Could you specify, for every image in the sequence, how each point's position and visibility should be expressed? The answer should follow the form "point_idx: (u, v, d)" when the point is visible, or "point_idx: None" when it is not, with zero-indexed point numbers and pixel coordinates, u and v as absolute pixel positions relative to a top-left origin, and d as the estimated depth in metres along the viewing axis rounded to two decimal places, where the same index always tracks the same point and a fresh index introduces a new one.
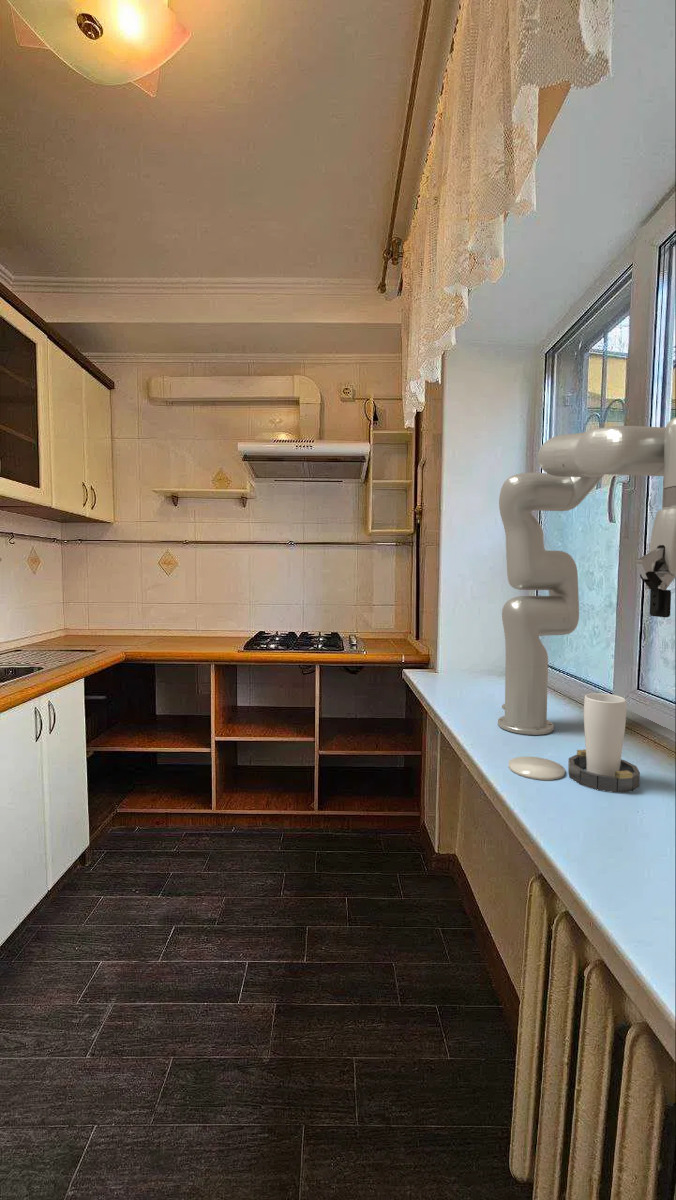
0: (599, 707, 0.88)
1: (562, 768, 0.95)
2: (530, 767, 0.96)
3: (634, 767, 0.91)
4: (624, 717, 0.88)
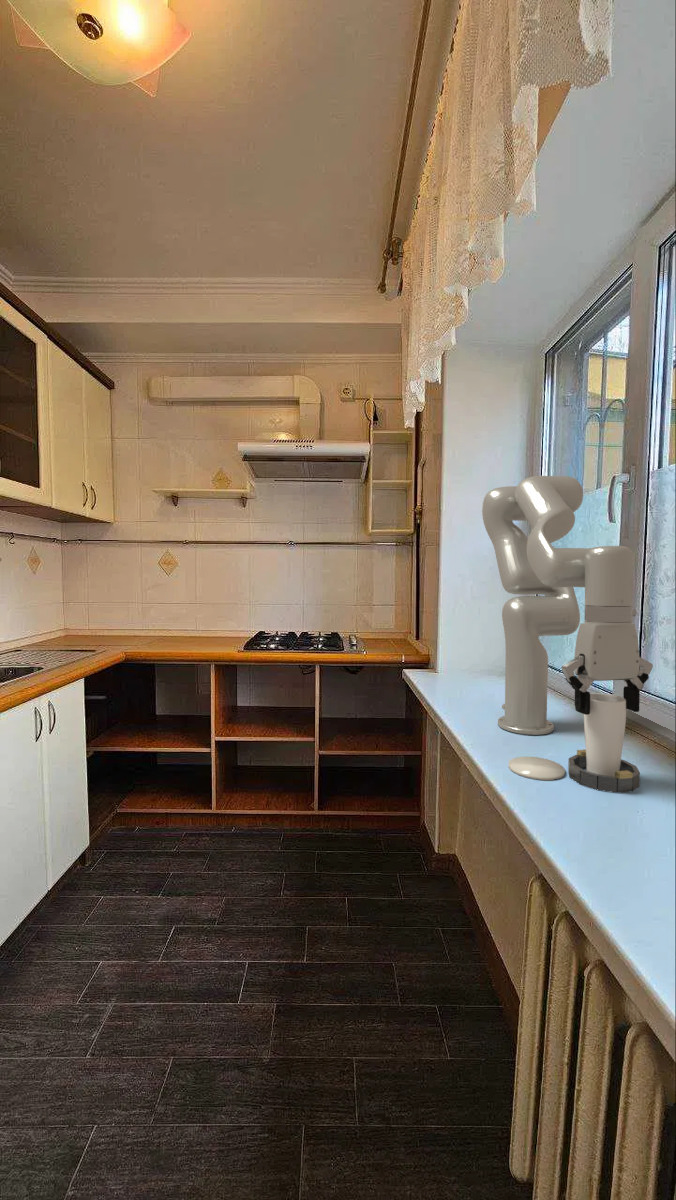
0: (599, 707, 0.88)
1: (562, 768, 0.95)
2: (530, 767, 0.96)
3: (634, 767, 0.91)
4: (624, 717, 0.88)
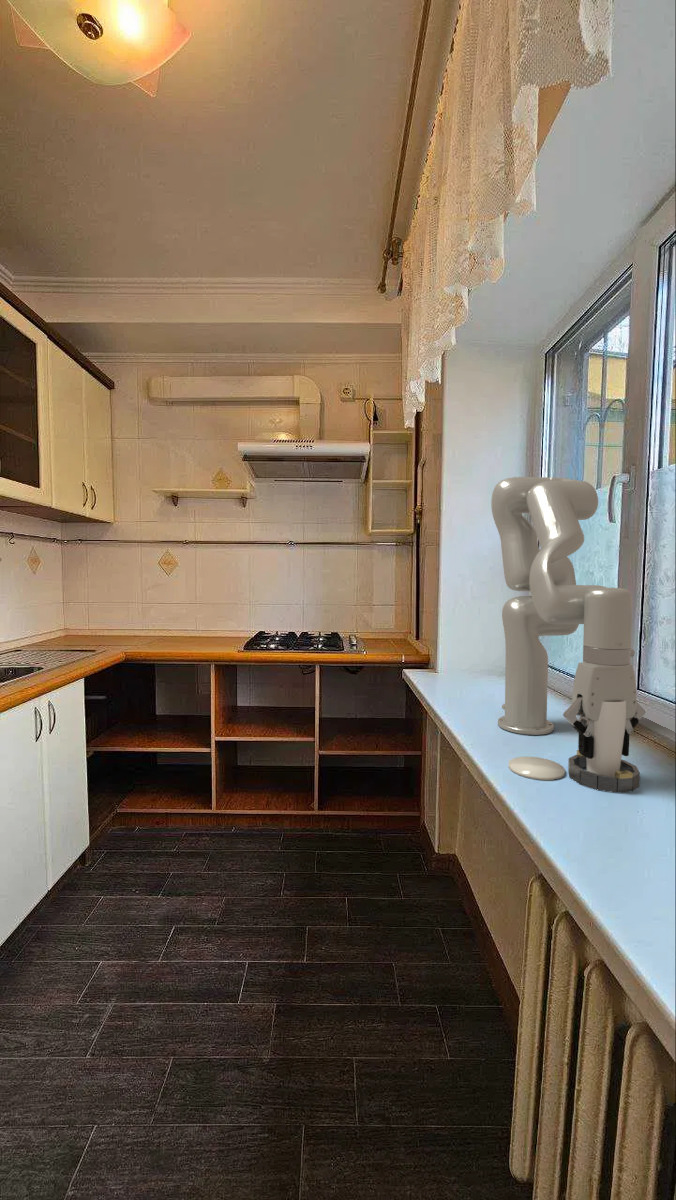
0: None
1: (562, 768, 0.95)
2: (530, 767, 0.96)
3: (634, 767, 0.91)
4: (624, 717, 0.88)
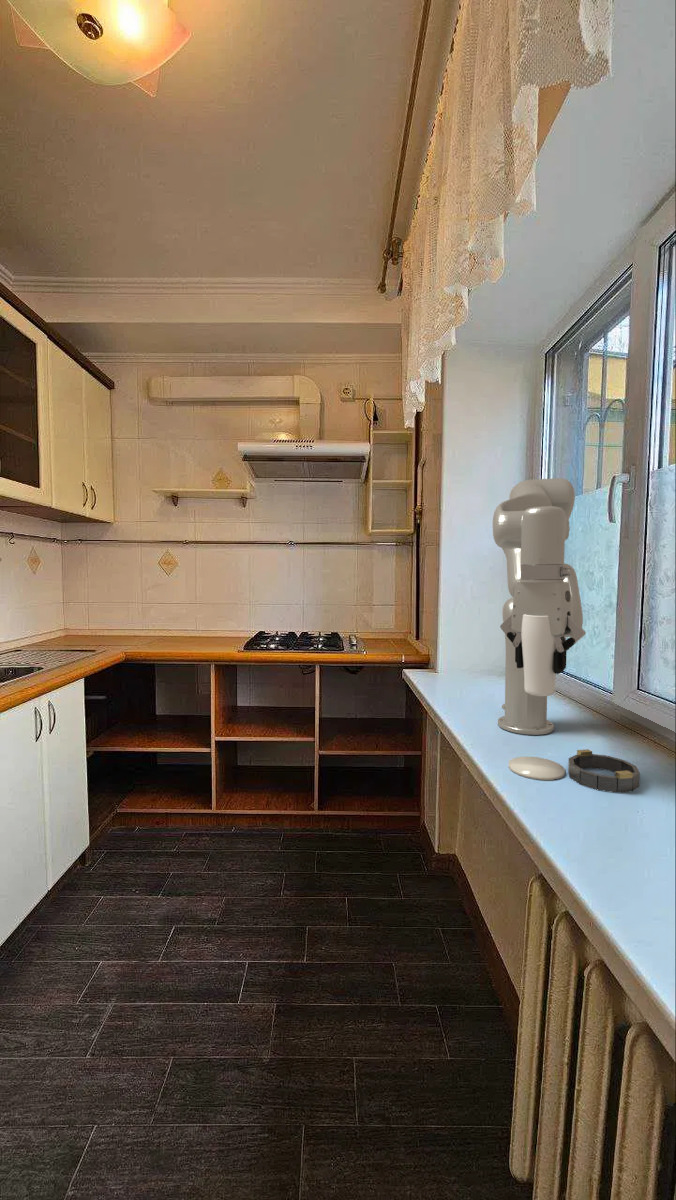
0: (522, 620, 0.95)
1: (562, 768, 0.95)
2: (530, 767, 0.96)
3: (634, 767, 0.91)
4: (542, 631, 0.91)
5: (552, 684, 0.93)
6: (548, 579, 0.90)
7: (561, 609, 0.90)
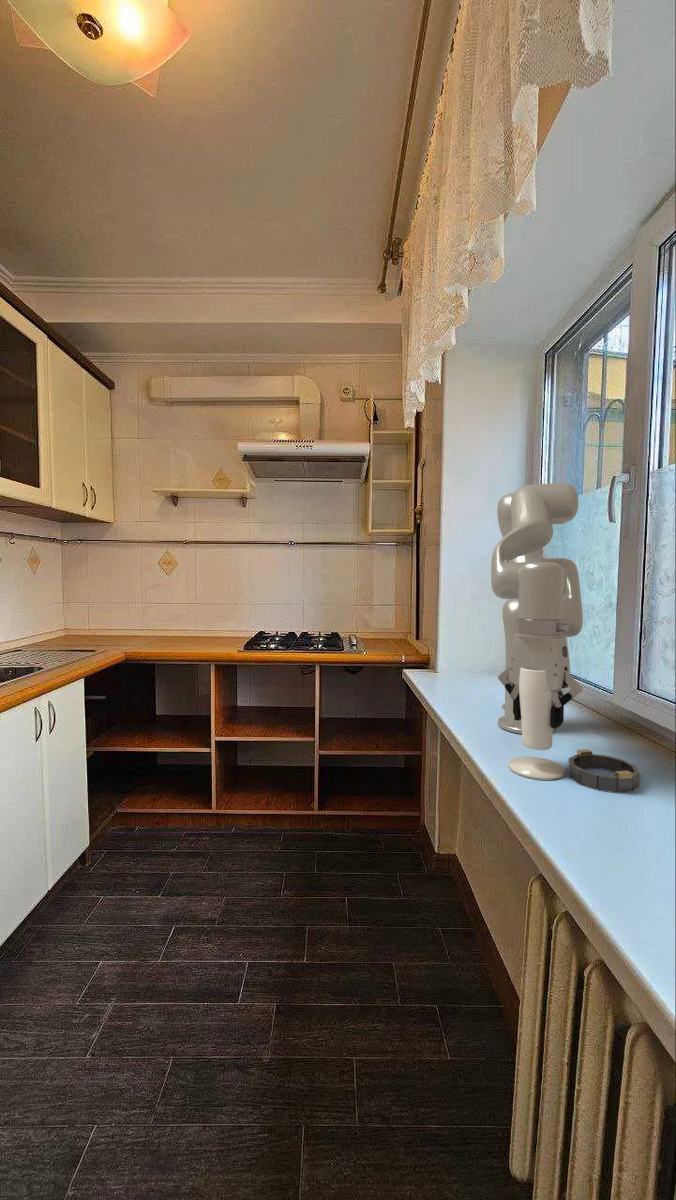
0: None
1: (562, 768, 0.95)
2: (530, 767, 0.96)
3: (634, 767, 0.91)
4: (539, 686, 0.92)
5: (549, 738, 0.93)
6: (545, 635, 0.91)
7: (558, 665, 0.90)
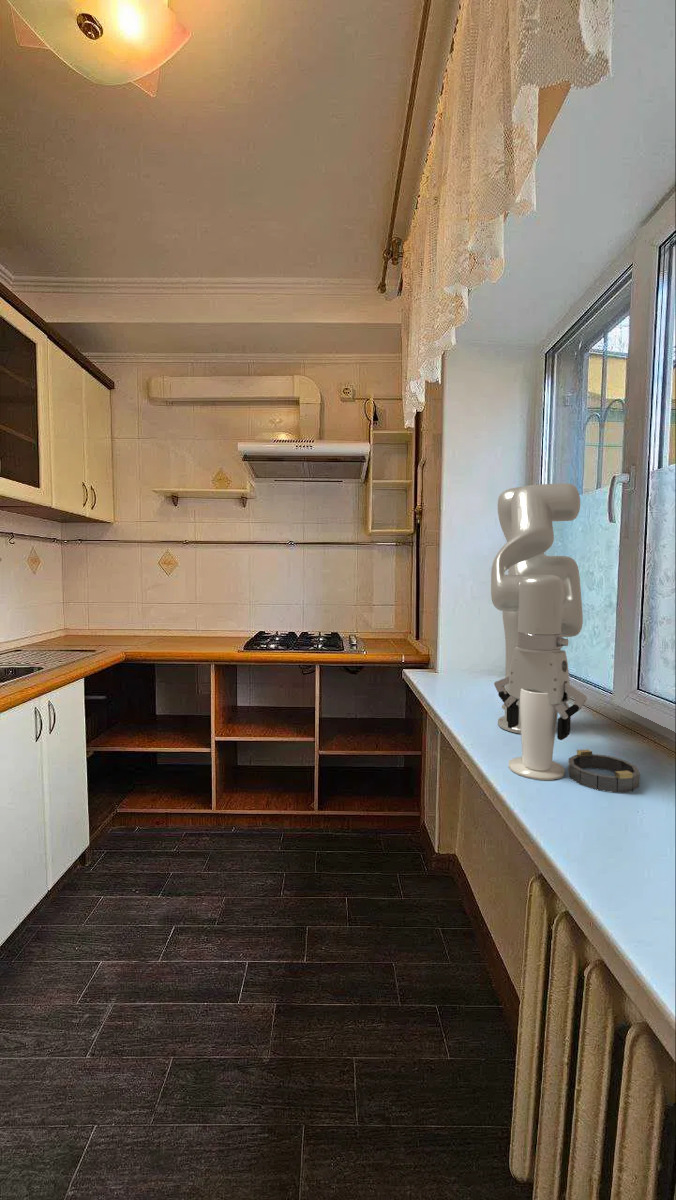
0: (520, 694, 0.95)
1: (562, 768, 0.95)
2: None
3: (634, 767, 0.91)
4: (540, 708, 0.92)
5: (550, 759, 0.94)
6: (545, 649, 0.91)
7: (558, 680, 0.90)
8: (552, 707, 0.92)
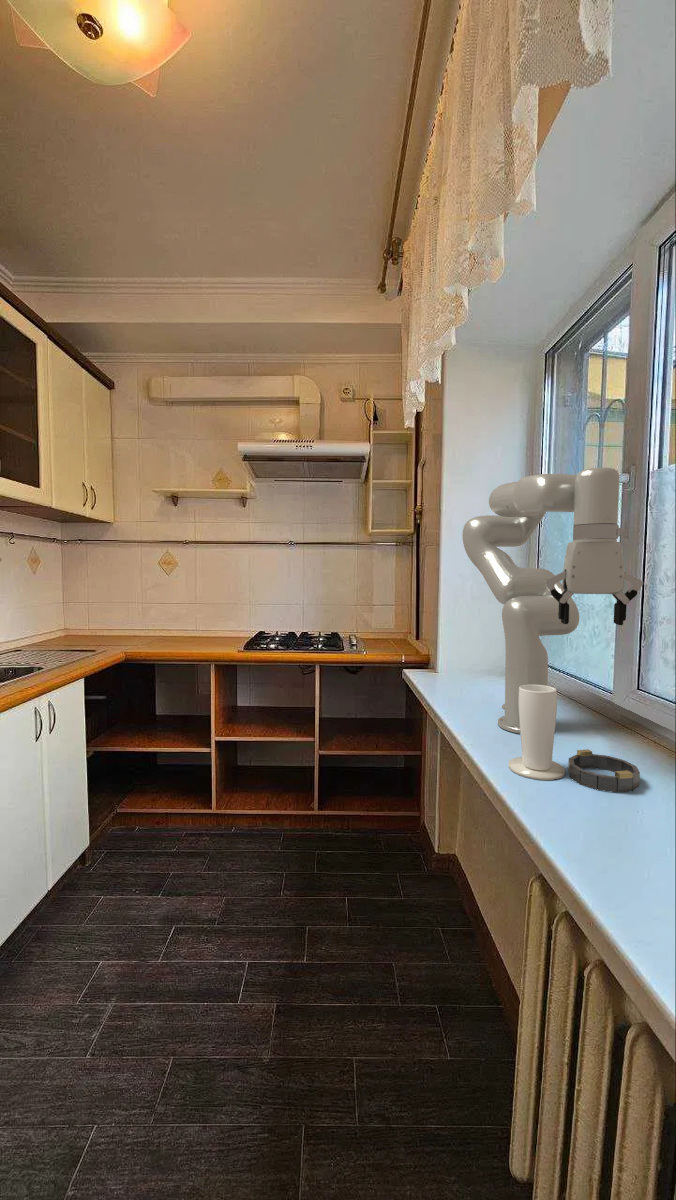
0: (519, 693, 0.96)
1: (562, 768, 0.95)
2: None
3: (634, 767, 0.91)
4: (539, 707, 0.92)
5: (549, 758, 0.94)
6: (613, 538, 0.93)
7: (622, 567, 0.94)
8: (551, 706, 0.92)
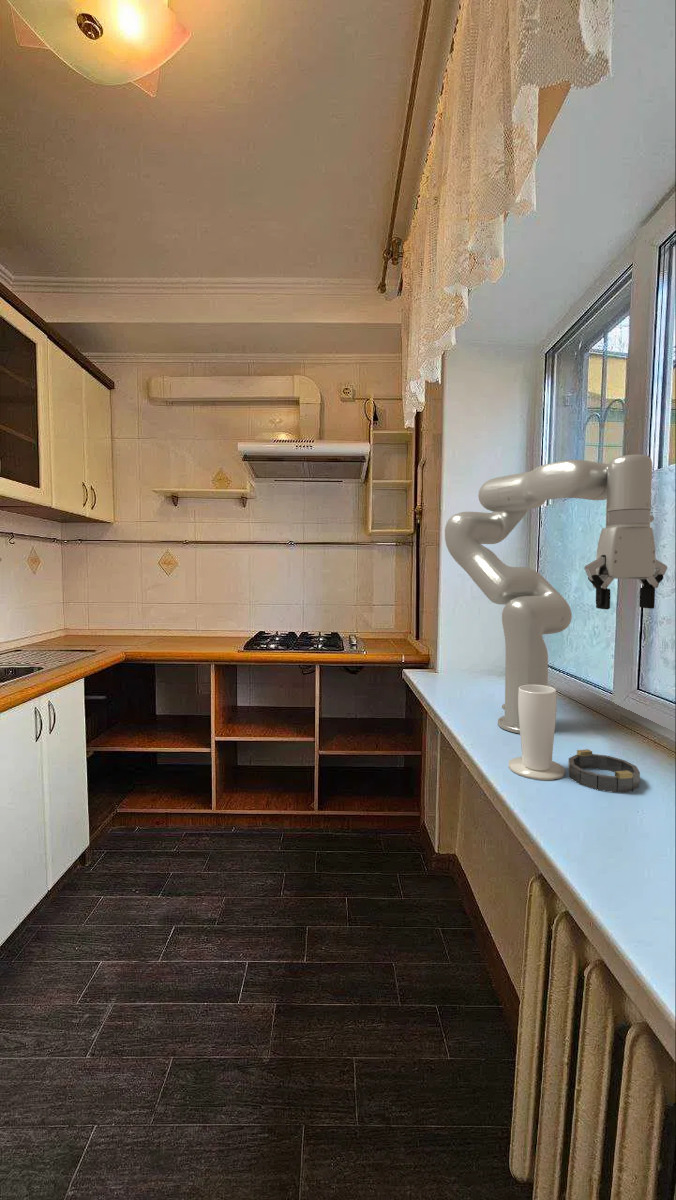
0: (518, 694, 0.95)
1: (562, 768, 0.95)
2: None
3: (634, 767, 0.91)
4: (539, 708, 0.92)
5: (549, 759, 0.94)
6: (649, 524, 0.96)
7: (654, 552, 0.97)
8: (551, 706, 0.92)
